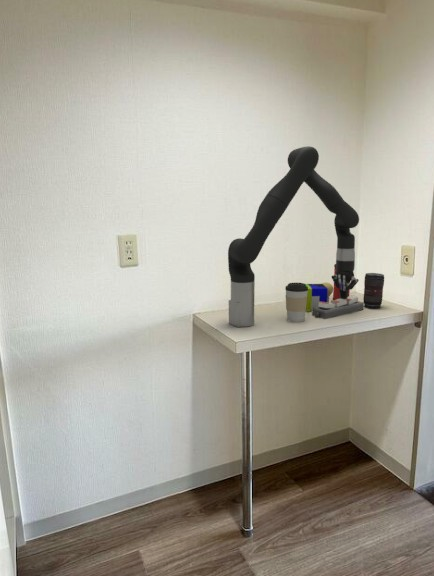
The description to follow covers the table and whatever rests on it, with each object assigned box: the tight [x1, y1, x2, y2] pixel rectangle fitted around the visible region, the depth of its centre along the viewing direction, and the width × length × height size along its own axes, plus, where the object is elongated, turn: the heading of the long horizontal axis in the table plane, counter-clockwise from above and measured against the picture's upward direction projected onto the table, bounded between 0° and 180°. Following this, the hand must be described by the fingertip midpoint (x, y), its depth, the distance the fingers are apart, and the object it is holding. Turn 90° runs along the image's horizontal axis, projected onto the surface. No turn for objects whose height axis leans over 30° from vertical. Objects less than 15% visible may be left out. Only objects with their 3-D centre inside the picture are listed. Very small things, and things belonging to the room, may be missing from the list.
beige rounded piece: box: [321, 282, 334, 303], centre depth 193 cm, size 6×6×10 cm
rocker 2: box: [330, 298, 347, 307], centre depth 180 cm, size 6×4×2 cm, turn 124°
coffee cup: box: [284, 282, 308, 323], centre depth 170 cm, size 9×9×15 cm
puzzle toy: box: [305, 283, 328, 312], centre depth 187 cm, size 10×10×10 cm
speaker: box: [332, 263, 351, 300], centre depth 198 cm, size 8×8×18 cm
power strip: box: [311, 300, 364, 320], centre depth 180 cm, size 26×7×3 cm, turn 124°
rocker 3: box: [345, 295, 359, 305], centre depth 184 cm, size 6×4×2 cm, turn 123°
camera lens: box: [363, 272, 385, 310], centre depth 187 cm, size 8×8×15 cm
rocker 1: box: [318, 301, 335, 308], centre depth 176 cm, size 6×4×2 cm, turn 124°
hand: (344, 298), depth 181 cm, fingers closed
